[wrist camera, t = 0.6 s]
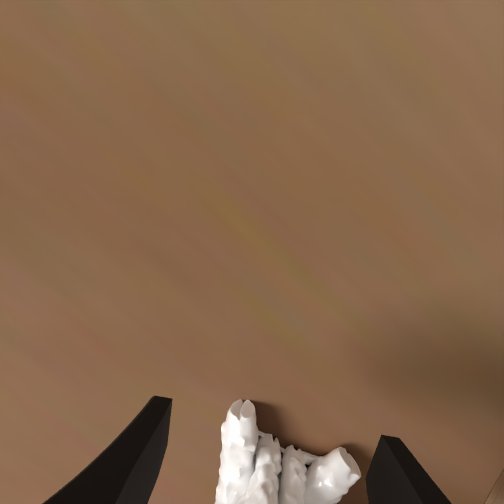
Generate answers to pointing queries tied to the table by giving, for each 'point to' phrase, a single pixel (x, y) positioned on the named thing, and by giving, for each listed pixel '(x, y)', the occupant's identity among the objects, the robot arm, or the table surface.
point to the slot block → (497, 492)
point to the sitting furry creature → (276, 467)
